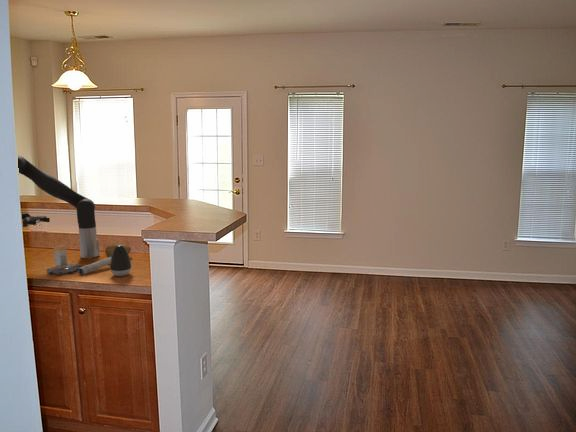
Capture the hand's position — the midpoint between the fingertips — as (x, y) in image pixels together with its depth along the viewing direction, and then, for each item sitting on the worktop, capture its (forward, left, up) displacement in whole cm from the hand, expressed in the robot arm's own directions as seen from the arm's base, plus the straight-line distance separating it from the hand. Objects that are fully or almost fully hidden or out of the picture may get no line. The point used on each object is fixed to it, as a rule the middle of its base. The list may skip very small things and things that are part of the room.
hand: (42, 221), depth 250 cm
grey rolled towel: (-17, +25, -26) cm, 40 cm away
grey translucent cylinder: (-3, +10, -23) cm, 25 cm away
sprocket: (-3, +13, -25) cm, 28 cm away
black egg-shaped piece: (-18, +42, -25) cm, 52 cm away
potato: (-34, +13, -25) cm, 45 cm away
